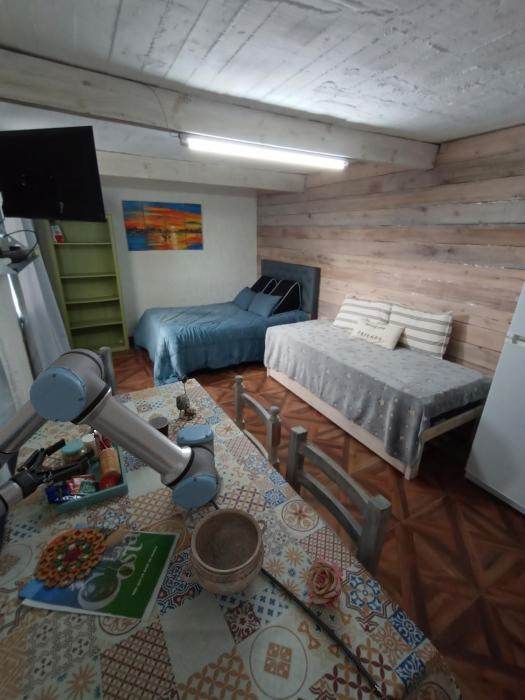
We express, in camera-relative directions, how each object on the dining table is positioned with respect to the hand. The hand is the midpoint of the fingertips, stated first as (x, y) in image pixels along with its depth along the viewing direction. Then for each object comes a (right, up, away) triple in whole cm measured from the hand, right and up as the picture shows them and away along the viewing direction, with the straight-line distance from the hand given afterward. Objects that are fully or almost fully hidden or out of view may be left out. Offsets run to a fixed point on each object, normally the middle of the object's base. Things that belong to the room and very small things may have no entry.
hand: (78, 446), depth 110 cm
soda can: (+3, -8, +13) cm, 15 cm away
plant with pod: (+28, +2, +40) cm, 49 cm away
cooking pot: (+55, -24, -27) cm, 66 cm away
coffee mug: (+22, -4, +22) cm, 31 cm away
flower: (+79, -27, -32) cm, 90 cm away
